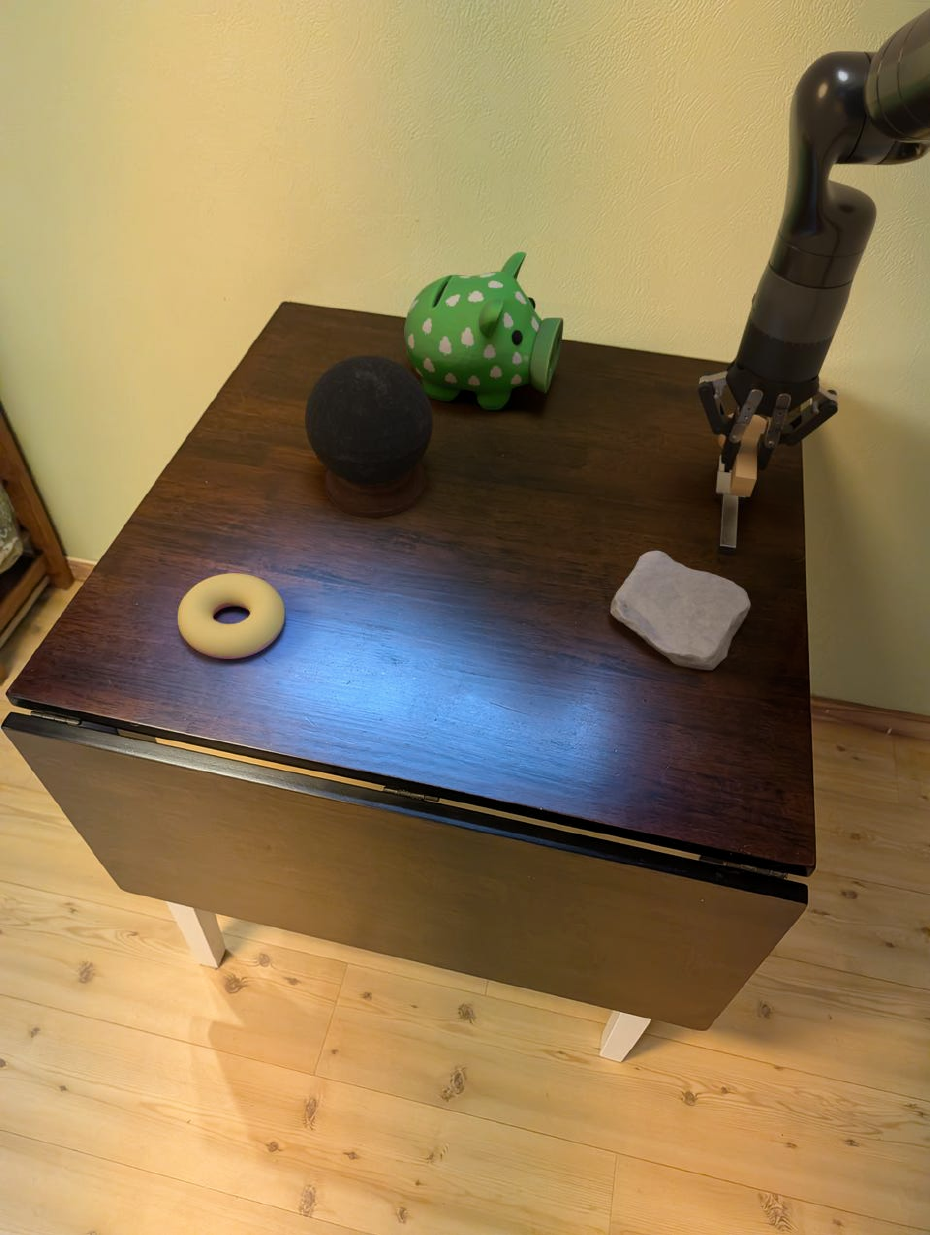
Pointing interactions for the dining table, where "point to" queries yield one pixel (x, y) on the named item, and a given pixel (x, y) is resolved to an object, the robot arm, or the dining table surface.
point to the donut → (231, 637)
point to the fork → (726, 510)
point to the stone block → (681, 610)
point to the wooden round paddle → (746, 458)
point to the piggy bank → (481, 337)
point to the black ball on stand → (370, 435)
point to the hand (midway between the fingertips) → (741, 466)
